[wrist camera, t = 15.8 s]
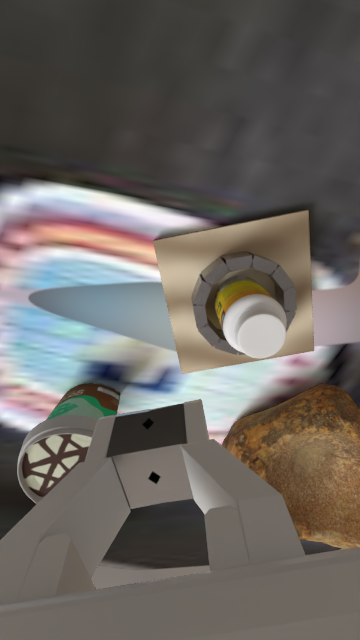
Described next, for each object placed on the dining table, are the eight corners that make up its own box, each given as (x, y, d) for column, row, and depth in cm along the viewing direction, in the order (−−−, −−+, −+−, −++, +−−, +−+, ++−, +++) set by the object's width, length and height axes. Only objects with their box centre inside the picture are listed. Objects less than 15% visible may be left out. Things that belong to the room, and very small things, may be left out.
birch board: (153, 240, 33) (153, 241, 32) (303, 210, 32) (308, 210, 31) (181, 369, 38) (181, 374, 37) (309, 346, 37) (314, 350, 36)
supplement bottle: (205, 286, 33) (217, 319, 24) (254, 267, 33) (286, 292, 23) (223, 330, 35) (240, 376, 26) (269, 312, 34) (305, 353, 25)
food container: (91, 355, 37) (63, 405, 28) (128, 386, 39) (113, 443, 30) (30, 414, 40) (-14, 477, 31) (67, 440, 42) (36, 508, 32)
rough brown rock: (392, 361, 39) (512, 434, 25) (377, 468, 44) (470, 583, 29) (211, 368, 40) (225, 442, 26) (214, 472, 45) (227, 586, 30)
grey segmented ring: (184, 262, 32) (185, 268, 30) (282, 243, 32) (293, 247, 29) (200, 349, 36) (202, 361, 33) (289, 333, 35) (298, 344, 33)
